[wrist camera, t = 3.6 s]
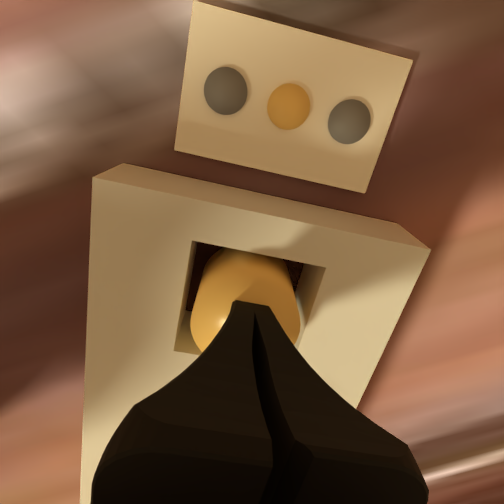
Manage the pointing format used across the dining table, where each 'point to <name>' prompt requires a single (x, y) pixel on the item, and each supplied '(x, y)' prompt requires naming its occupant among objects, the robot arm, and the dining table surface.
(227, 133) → the card
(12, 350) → the dining table surface
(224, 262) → the button
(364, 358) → the board
